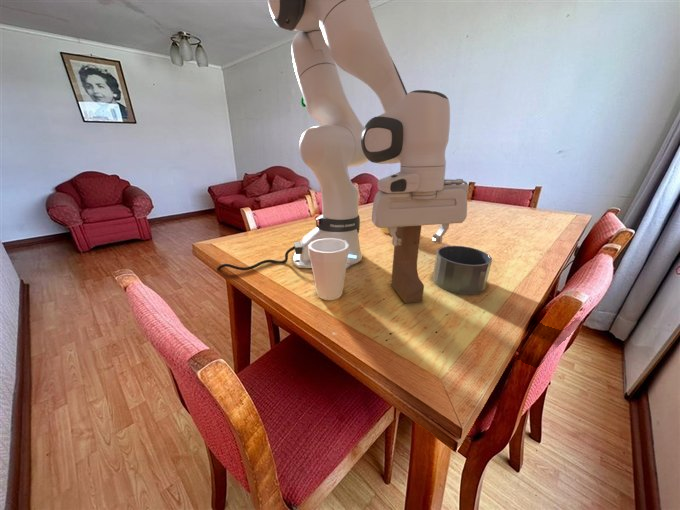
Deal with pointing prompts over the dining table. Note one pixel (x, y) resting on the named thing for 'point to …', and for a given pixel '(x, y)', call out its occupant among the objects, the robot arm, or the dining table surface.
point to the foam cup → (329, 266)
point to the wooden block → (407, 265)
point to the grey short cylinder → (461, 269)
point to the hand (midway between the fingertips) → (416, 243)
